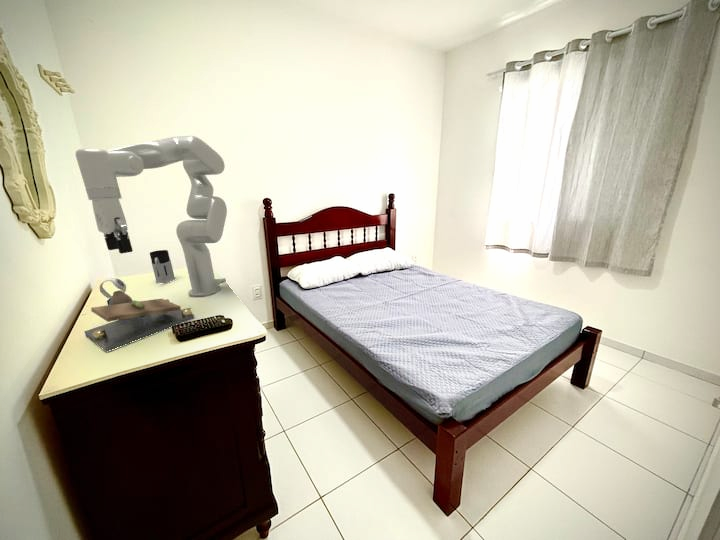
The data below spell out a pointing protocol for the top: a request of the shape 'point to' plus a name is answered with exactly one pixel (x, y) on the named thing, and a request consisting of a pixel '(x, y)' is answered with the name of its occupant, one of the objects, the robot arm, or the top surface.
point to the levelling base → (136, 328)
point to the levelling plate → (134, 309)
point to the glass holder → (162, 266)
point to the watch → (117, 283)
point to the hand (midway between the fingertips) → (120, 250)
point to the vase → (120, 298)
